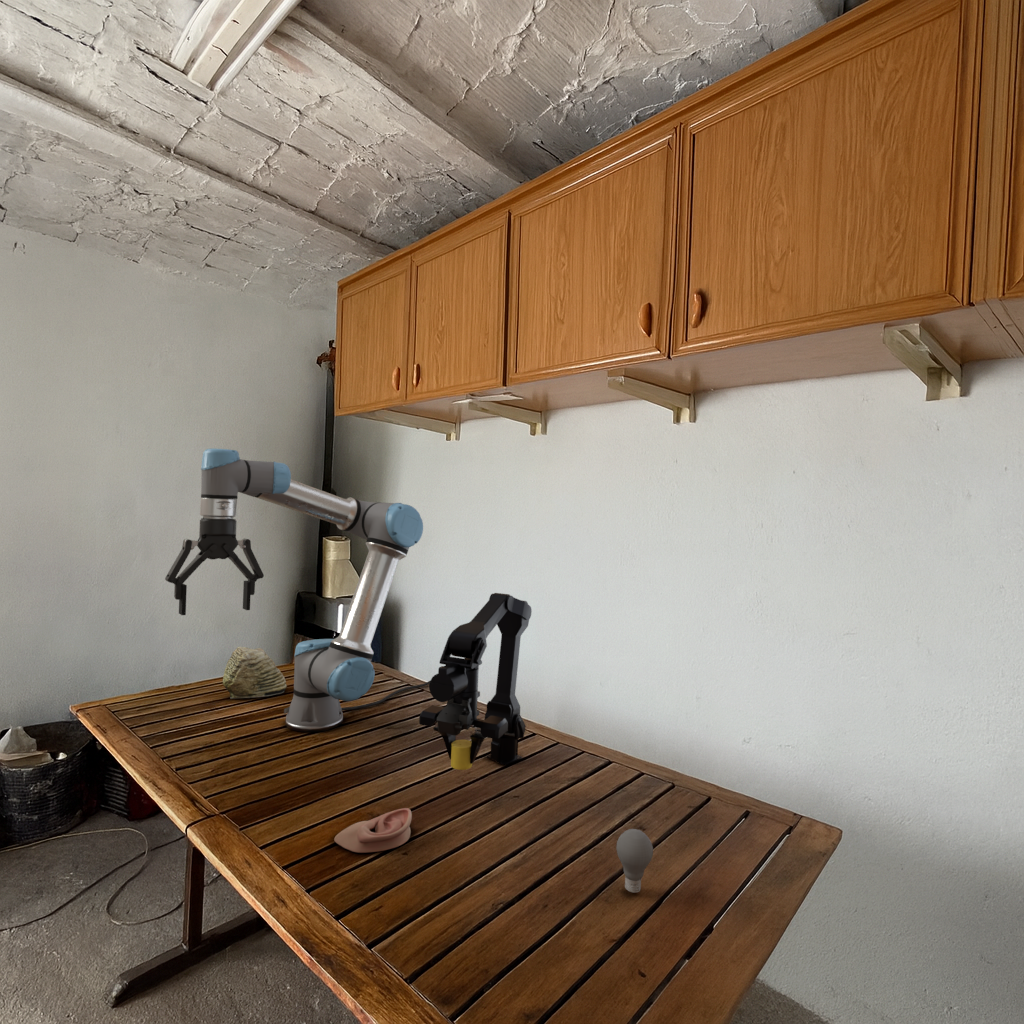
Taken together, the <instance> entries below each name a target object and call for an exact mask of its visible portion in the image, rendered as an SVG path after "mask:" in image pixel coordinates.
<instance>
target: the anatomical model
mask: <svg viewBox="0 0 1024 1024" xmlns="http://www.w3.org/2000/svg"><path fill="white" fill-rule="evenodd" d="M412 819H413V813H412V811H411V809H410V808H408V807H404V808H398V809H395V810H392V811H388V812H385V813H384V814H380V815H379V816H377V817H374V818H372V819H369V820H362V821H358V822H354V823H353V824H351V825H348V826H347V827H346V828H344V829H341V831H340V832H338V833H337V834H336V835H335V837H334V839H333V840H334V842H335V843H336V844H337V845H338V846H339V847H341V848H343V849H346V850H348V851H350V852H353V853H359V854H364V853H376V852H383V851H387V850H391V849H395V848H398V847H399V846H402V845H404V844H405V843H406V842H408V841H409V840H410V838H411V833H412V831H411V827H410V825H411V824H412Z"/></svg>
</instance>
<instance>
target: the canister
mask: <svg viewBox="0 0 1024 1024" xmlns="http://www.w3.org/2000/svg"><path fill="white" fill-rule="evenodd" d="M471 742H472V741H471V740H469V739H455V741H453V742H452V748H451V759H450V767H451V768H452V769H453V770H459V771H467V770H470V769H471V768H472V767H473V763H472V764H471V763H470V753H471Z"/></svg>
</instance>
